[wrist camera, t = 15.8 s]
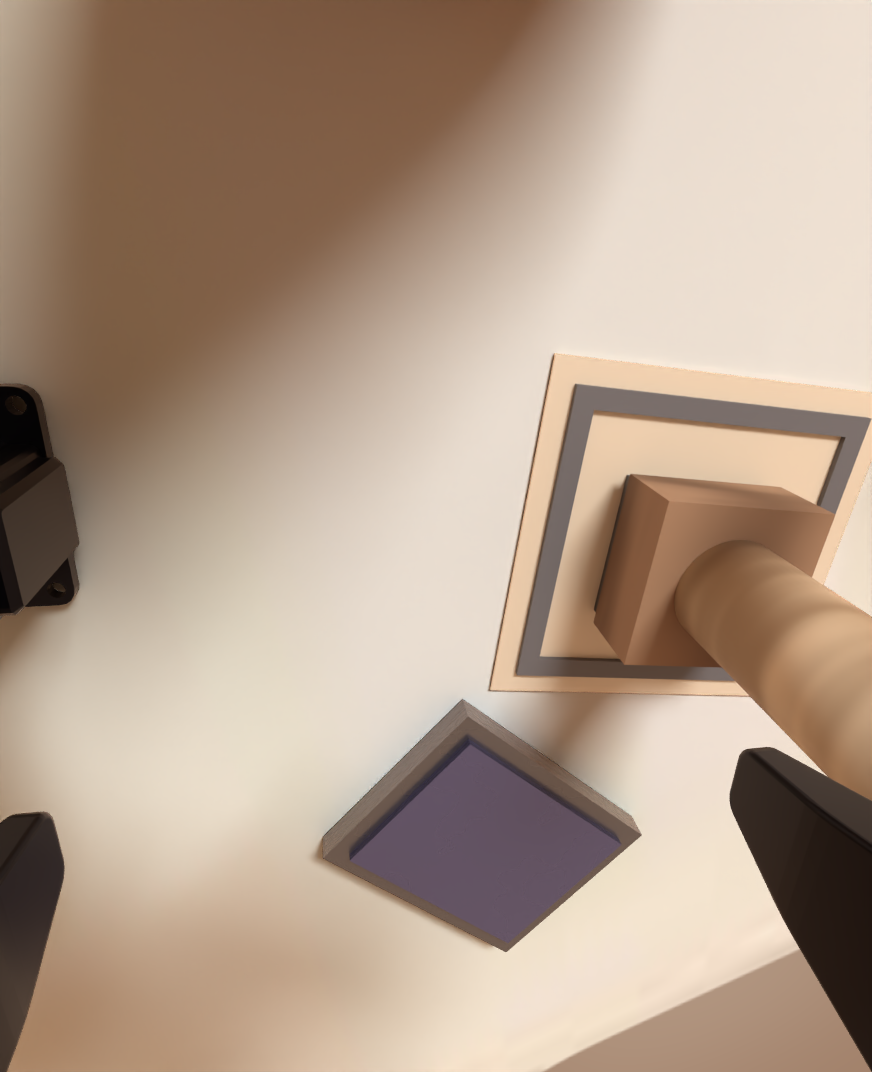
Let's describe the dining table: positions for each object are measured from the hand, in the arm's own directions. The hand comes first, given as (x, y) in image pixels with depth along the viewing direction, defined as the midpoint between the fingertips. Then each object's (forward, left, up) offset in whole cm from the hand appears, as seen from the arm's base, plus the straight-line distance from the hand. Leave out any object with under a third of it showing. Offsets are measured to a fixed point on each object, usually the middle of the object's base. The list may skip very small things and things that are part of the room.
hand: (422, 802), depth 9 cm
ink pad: (+4, -14, -13) cm, 20 cm away
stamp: (+11, -2, -13) cm, 17 cm away
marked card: (+11, -2, -13) cm, 17 cm away
